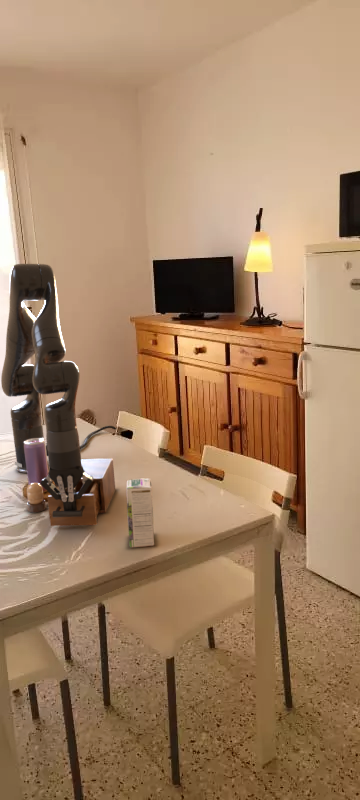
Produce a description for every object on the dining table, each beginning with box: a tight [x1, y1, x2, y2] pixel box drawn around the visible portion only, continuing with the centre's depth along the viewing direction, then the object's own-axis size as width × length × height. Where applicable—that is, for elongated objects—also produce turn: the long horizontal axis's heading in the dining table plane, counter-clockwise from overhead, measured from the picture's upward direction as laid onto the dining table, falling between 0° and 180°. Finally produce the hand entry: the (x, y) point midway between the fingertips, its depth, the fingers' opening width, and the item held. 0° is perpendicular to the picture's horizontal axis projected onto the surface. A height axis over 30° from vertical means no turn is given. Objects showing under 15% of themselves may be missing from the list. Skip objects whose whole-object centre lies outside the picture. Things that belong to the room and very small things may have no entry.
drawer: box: [47, 481, 102, 527], centre depth 155 cm, size 19×11×8 cm, turn 176°
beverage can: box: [24, 438, 49, 494], centre depth 175 cm, size 6×6×15 cm
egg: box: [26, 482, 47, 513], centre depth 163 cm, size 5×5×7 cm
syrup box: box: [126, 478, 155, 549], centre depth 141 cm, size 6×6×14 cm
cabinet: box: [54, 457, 116, 514], centre depth 166 cm, size 16×13×10 cm
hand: (70, 514), depth 148 cm, fingers closed
